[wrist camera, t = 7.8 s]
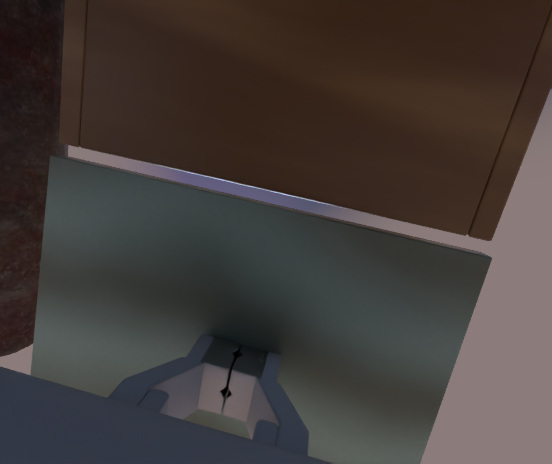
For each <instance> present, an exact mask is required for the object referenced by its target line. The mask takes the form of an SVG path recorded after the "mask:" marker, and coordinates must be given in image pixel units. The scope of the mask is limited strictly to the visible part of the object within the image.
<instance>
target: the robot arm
mask: <svg viewBox="0 0 552 464" xmlns="http://www.w3.org/2000/svg"><path fill="white" fill-rule="evenodd" d="M281 359H282V354H277V353H273V352H268V351H263V350H259V349H255V348H251V347H247V346H243V345H242V347H241V344H237V343H234V342H230V341H227V340H223V339H220V338H217V337H216V338H215V337H213V336H209V335H205V334H202V335H201V336H200V337H199V339H198V340H197V341H196V343H195V344H194V346H193V347H192V349H191V350H190V352H189V353H188V355H187V356H186V358H184V357H180V358H178V359H175V360H172V361H170V362H167V363H165V364H162V365H159V366H157V367H154V368H151V369H149V370H146V371H144V372H141V373H138V374H136V375H133V376H130V377H128V378H125V379H123V381H122V382H121V383H120V384H119V385H118V386H117V387H116V389H115V390H114V391H113V392H112V393H111V394H110V395H109V397H108V398H107V397H103V396H100V395H96V394H93V393H90V392H86V391H83V390H79V389H76V388H72V387H69V386H65V385H62V384H58V383H55V382H52V381H48V380H45V379H41V378H38V377H34V376H31V375H27V374H24V373H21V372H17V371H14V370H10V369H7V368H3V367H0V464H335V463H331V462H328V461H324V460H321V459H317V458H314V457H310V456H308V444H309V431H308V429H307V427H306V426H305V424H304V422H303V421H302V419H301V417H300V416H299V414H298V413H297V411H296V409H295V408H294V406H293V404H292V403H291V401H290V399H289V398H288V396H287V394H286V393H285V391H284V389H283V388H282V386H281V384H279V383H276V382H277V377H278V373H279V368H280V363H281ZM224 405H225V406H224ZM223 407H224V412H223V415H224V416H227V417H230V418H233V419H236V420H239V421H242V422H246V425H247V428H248V432H249V435H250V438H251V439H248V438H245V437H241V436H238V435H234V434H231V433H228V432H224V431H221V430H217V429H214V428H210V427H207V426H203V425H200V424H196V423H193V422H190V421H186V420H183V419H184V418H185V417H187V416H188V415H190V414H191V413H193V412H194V411H196V409H200V410H204V411H208V412H212V413H216V414H220V415H221V412H222V410H223Z"/></svg>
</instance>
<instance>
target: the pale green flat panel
mask: <svg viewBox="0 0 552 464" xmlns="http://www.w3.org/2000/svg"><path fill="white" fill-rule="evenodd" d="M491 260H492V258H491V257H490V256H488V255H485V254H484V253H481V252H478V251H474V250H469V249H465V248H461V247H456V246H452V245H447V244H443V243H439V242H435V241H430V240H426V239H422V238H418V237H413V236H409V235H405V234H400V233H396V232H391V231H387V230H383V229H379V228H374V227H370V226H366V225H361V224H357V223H353V222H349V221H344V220H340V219H335V218H331V217H326V216H322V215H318V214H314V213H310V212H305V211H301V210H297V209H292V208H288V207H283V206H280V205H275V204H271V203H266V202H262V201H258V200H254V199H249V198H244V197H241V196H236V195H232V194H228V193H224V192H219V191H215V190H210V189H206V188H202V187H198V186H193V185H189V184H184V183H180V182H176V181H171V180H168V179H163V178H159V177H155V176H150V175H146V174H141V173H137V172H133V171H129V170H124V169H120V168H116V167H111V166H107V165H103V164H99V163H94V162H90V161H85V160H81V159H77V158H73V157H68V156H60V155H51V156H50V164H49V175H48V186H47V197H46V208H45V219H44V230H43V241H42V253H41V264H40V275H39V286H38V297H37V308H36V319H35V330H34V341H33V353H32V364H31V376H34V377H38V378H41V379H45V380H48V381H52V382H55V383H58V384H62V385H65V386H69V387H72V388H76V389H79V390H83V391H86V392H90V393H93V394H96V395H100V396H103V397H107V398H108V397H109V395H110V394H111V393H112V392H113V391H114V390H115V389H116V387H117V386H118V385H119V384H120V383H121V382H122V381H123V379H125V378H128V377H130V376H133V375H136V374H138V373H141V372H144V371H146V370H149V369H151V368H154V367H157V366H159V365H162V364H165V363H167V362H170V361H172V360H175V359H178V358H180V357H184V358H186V356H187V355H188V353H189V352H190V350H191V349H192V347H193V346H194V344H195V343H196V341H197V340H198V339H199V337H200V336H201V335H202V334H205V335H209V336H213V337H215V338H216V337H217V338H220V339H223V340H227V341H230V342H234V343H237V344H241V347H242V345H243V346H247V347H251V348H255V349H259V350H263V351H268V352H273V353H277V354H282V359H281V363H280V368H279V373H278V377H277V382H276V383H279V384H281V386H282V388H283V389H284V391H285V393H286V394H287V396H288V398H289V399H290V401H291V403H292V404H293V406H294V408H295V409H296V411H297V413H298V414H299V416H300V417H301V419H302V421H303V422H304V424H305V426H306V427H307V429H308V431H309V444H308V456H310V457H314V458H317V459H321V460H324V461H328V462H331V463H335V464H420V462H421V459H422V456H423V453H424V451H425V448H426V445H427V442H428V439H429V436H430V434H431V431H432V428H433V425H434V422H435V419H436V417H437V414H438V411H439V408H440V405H441V402H442V399H443V397H444V394H445V391H446V388H447V385H448V382H449V379H450V377H451V374H452V371H453V368H454V365H455V362H456V359H457V357H458V354H459V351H460V348H461V345H462V343H463V340H464V336H465V334H466V331H467V328H468V325H469V322H470V320H471V317H472V314H473V311H474V308H475V306H476V303H477V300H478V297H479V294H480V291H481V288H482V285H483V283H484V280H485V277H486V274H487V271H488V268H489V266H490V263H491ZM224 406H225V405H224ZM223 412H224V407H223V410H222V412H221V415H220V414H216V413H212V412H208V411H204V410H200V409H196V411H194V412H193V413H191V414H190V415H188V416H187V417H185V418H184V419H183V420H186V421H190V422H193V423H196V424H200V425H203V426H207V427H210V428H214V429H217V430H221V431H224V432H228V433H231V434H234V435H238V436H241V437H245V438H248V439H251V438H250V435H249V432H248V428H247V425H246V422H242V421H239V420H236V419H233V418H230V417H227V416H224V415H223Z"/></svg>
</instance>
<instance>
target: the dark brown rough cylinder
mask: <svg viewBox="0 0 552 464" xmlns="http://www.w3.org/2000/svg"><path fill="white" fill-rule="evenodd" d="M64 14H65V0H0V357H1V356H5V355H9V354H12V353H15V352H18V351H19V350H21V349H23V348H25V347H28V346H30V345H31V344H33V341H34V330H35V319H36V308H37V297H38V286H39V275H40V264H41V253H42V241H43V230H44V219H45V208H46V197H47V186H48V175H49V164H50V156H51V155H60V156H68V145H67V144H62V143H60V142H59V130H60V107H61V84H62V60H63V37H64Z"/></svg>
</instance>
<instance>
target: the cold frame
mask: <svg viewBox="0 0 552 464" xmlns="http://www.w3.org/2000/svg"><path fill="white" fill-rule="evenodd" d="M551 86H552V0H65V14H64V37H63V60H62V84H61V107H60V130H59V142H60V143H62V144H67V145H71V146H75V147H81V148H85V149H89V150H93V151H98V152H102V153H107V154H111V155H116V156H119V157H124V158H128V159H133V160H137V161H141V162H146V163H150V164H155V165H159V166H163V167H168V168H172V169H176V170H181V171H185V172H189V173H194V174H198V175H203V176H207V177H211V178H216V179H220V180H224V181H228V182H233V183H237V184H242V185H246V186H250V187H255V188H259V189H264V190H268V191H272V192H276V193H281V194H285V195H290V196H294V197H298V198H303V199H307V200H311V201H316V202H320V203H324V204H329V205H333V206H337V207H342V208H346V209H351V210H355V211H360V212H364V213H368V214H373V215H377V216H381V217H386V218H390V219H394V220H399V221H403V222H408V223H412V224H416V225H420V226H425V227H429V228H433V229H438V230H442V231H447V232H451V233H456V234H460V235H464V236H466V235H467V236H469V237H473V238H477V239H482V240H486V241H491V240H492V238H493V235H494V233H495V230H496V228H497V225H498V222H499V220H500V217H501V215H502V212H503V210H504V207H505V205H506V202H507V199H508V197H509V194H510V192H511V189H512V187H513V184H514V181H515V179H516V176H517V174H518V171H519V169H520V166H521V163H522V161H523V158H524V155H525V153H526V151H527V148H528V145H529V143H530V140H531V138H532V135H533V133H534V130H535V127H536V125H537V122H538V120H539V117H540V114H541V112H542V109H543V107H544V104H545V102H546V99H547V97H548V94H549V92H550V89H551Z"/></svg>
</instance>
